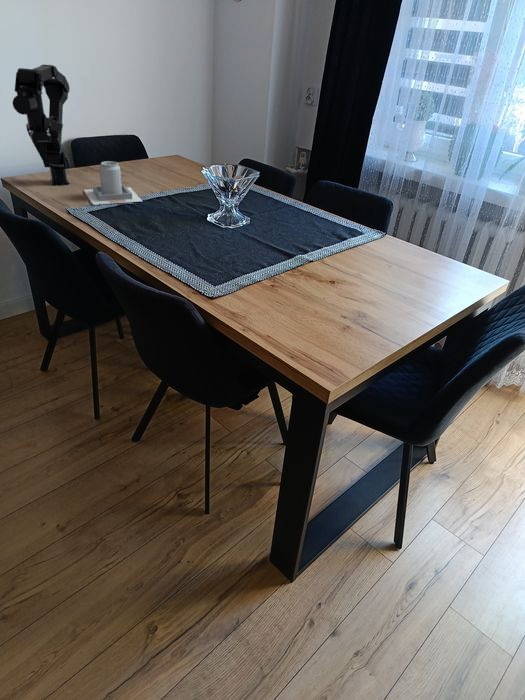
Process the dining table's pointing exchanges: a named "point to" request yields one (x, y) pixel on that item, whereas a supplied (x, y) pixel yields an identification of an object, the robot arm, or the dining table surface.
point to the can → (110, 178)
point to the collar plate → (111, 196)
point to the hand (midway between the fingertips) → (42, 156)
